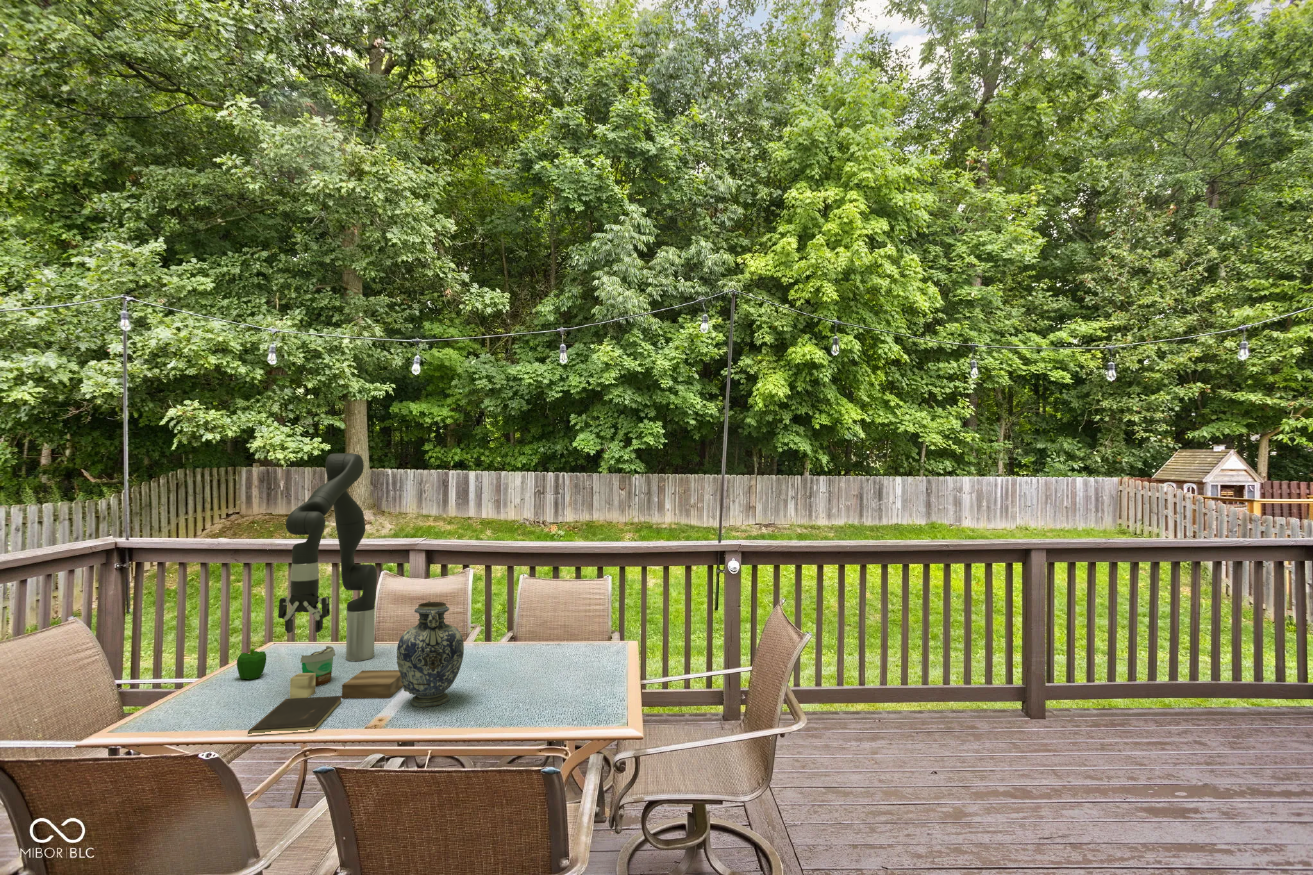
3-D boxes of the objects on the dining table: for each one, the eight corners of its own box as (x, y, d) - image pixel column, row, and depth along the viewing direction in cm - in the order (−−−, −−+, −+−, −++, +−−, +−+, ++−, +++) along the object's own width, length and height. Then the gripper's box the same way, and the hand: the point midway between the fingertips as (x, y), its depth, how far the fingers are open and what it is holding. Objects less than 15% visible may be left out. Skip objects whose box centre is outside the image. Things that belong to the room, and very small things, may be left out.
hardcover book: (342, 703, 195) (342, 695, 195) (314, 734, 172) (314, 725, 172) (283, 706, 193) (283, 698, 193) (247, 738, 170) (247, 729, 170)
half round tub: (317, 689, 206) (317, 656, 206) (299, 688, 207) (300, 655, 207) (343, 677, 218) (344, 646, 218) (326, 676, 219) (327, 645, 219)
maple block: (298, 693, 203) (299, 673, 203) (315, 692, 203) (315, 672, 203) (289, 698, 198) (290, 678, 198) (306, 698, 198) (307, 678, 198)
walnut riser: (362, 683, 212) (362, 670, 212) (406, 682, 212) (406, 669, 212) (341, 698, 198) (342, 684, 198) (389, 697, 198) (389, 684, 198)
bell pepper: (240, 675, 221) (240, 644, 221) (268, 672, 223) (268, 642, 224) (232, 683, 213) (233, 651, 213) (262, 680, 215) (262, 648, 216)
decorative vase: (394, 693, 201) (396, 599, 202) (458, 686, 208) (460, 595, 210) (396, 718, 181) (399, 613, 183) (467, 709, 189) (469, 608, 190)
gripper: (334, 575, 206) (333, 629, 205) (287, 576, 206) (286, 629, 205) (322, 579, 198) (321, 635, 198) (274, 580, 198) (272, 635, 197)
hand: (303, 632), depth 201 cm, fingers open, 8 cm apart
